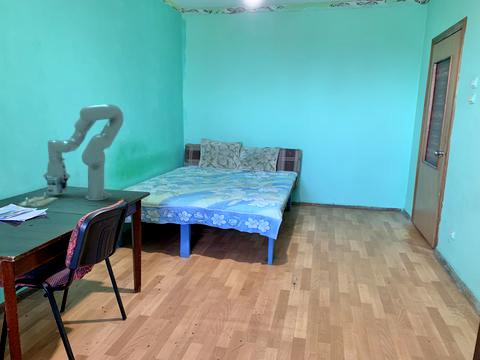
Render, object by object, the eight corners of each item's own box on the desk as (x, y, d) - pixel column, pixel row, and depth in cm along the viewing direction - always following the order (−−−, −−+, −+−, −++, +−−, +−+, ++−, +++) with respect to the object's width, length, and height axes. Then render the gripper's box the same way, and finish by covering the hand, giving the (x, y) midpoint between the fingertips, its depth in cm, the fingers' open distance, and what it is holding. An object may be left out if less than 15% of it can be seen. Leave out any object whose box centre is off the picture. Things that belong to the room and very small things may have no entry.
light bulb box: (57, 194, 224) (56, 177, 222) (47, 194, 225) (46, 176, 223) (68, 191, 235) (67, 174, 233) (58, 190, 236) (57, 174, 234)
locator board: (58, 199, 223) (58, 197, 223) (42, 207, 205) (42, 205, 205) (35, 198, 223) (35, 196, 222) (17, 205, 205) (17, 203, 205)
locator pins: (51, 198, 222) (50, 192, 221) (36, 204, 206) (36, 198, 205) (40, 197, 221) (40, 191, 221) (25, 204, 206) (24, 198, 205)
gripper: (72, 159, 230) (74, 187, 233) (44, 158, 230) (46, 186, 233) (67, 161, 223) (68, 189, 226) (38, 160, 223) (40, 189, 226)
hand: (57, 188), depth 230 cm, fingers closed on light bulb box, 7 cm apart
